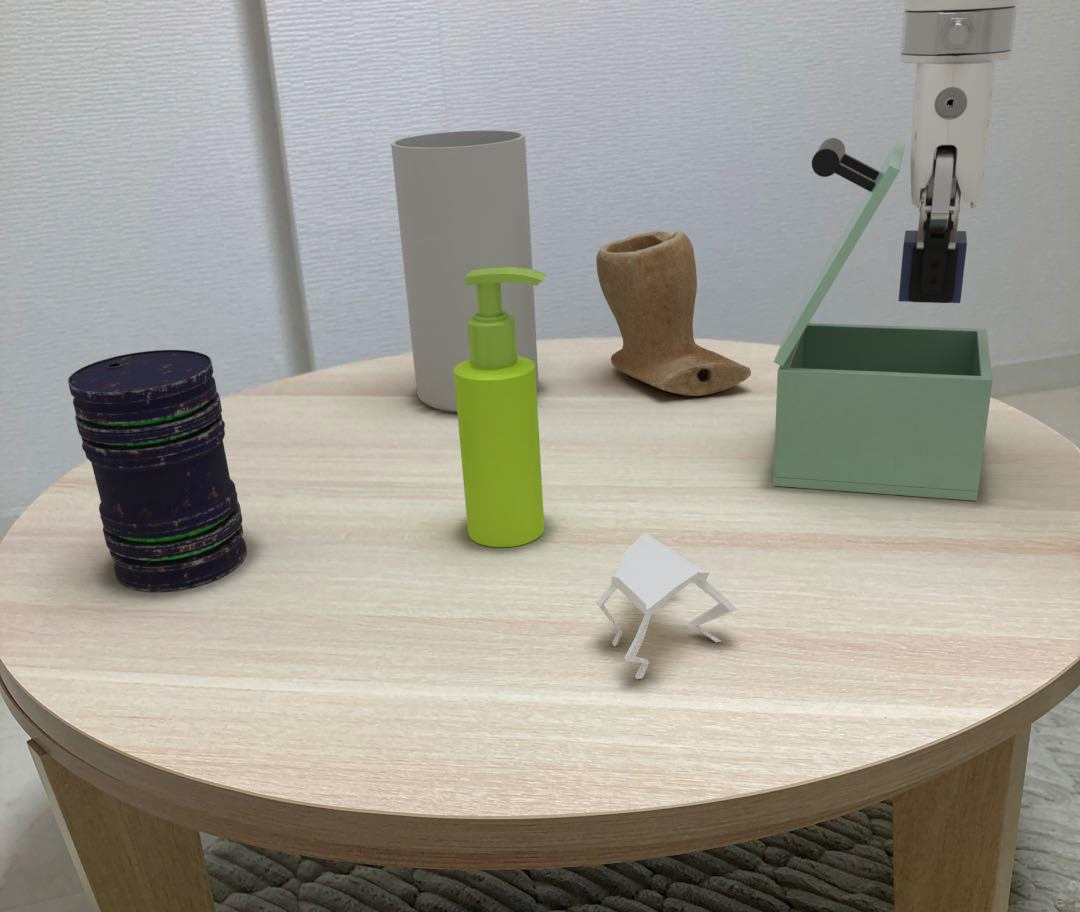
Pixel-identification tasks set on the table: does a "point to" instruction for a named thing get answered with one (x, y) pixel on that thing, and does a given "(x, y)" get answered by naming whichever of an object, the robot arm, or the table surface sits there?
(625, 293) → the clay pipe
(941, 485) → the green box
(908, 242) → the blue block
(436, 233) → the cylinder vase
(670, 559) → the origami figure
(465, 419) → the soap dispenser
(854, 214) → the box lid
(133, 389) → the dark blue cylinder
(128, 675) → the table surface
